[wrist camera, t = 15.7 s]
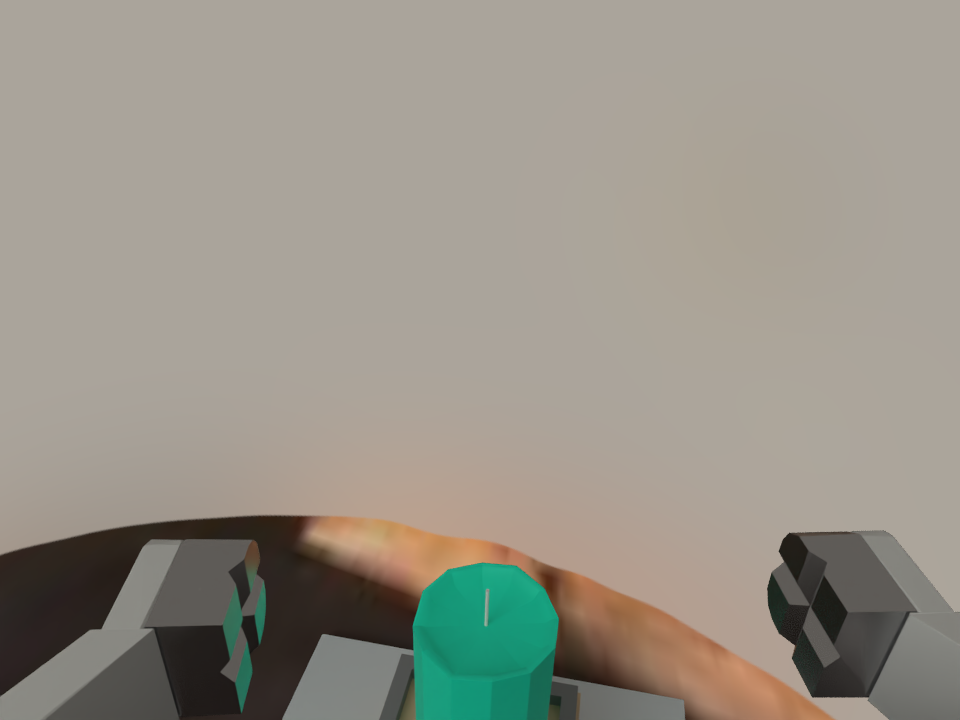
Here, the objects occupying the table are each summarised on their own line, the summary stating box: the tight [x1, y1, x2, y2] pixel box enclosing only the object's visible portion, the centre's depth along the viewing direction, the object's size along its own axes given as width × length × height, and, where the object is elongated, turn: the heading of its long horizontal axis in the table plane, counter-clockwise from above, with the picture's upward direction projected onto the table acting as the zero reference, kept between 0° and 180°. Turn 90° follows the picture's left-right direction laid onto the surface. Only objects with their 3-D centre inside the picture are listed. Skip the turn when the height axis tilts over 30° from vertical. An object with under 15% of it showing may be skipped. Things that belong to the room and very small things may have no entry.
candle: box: [413, 563, 559, 720], centre depth 31 cm, size 6×6×12 cm
